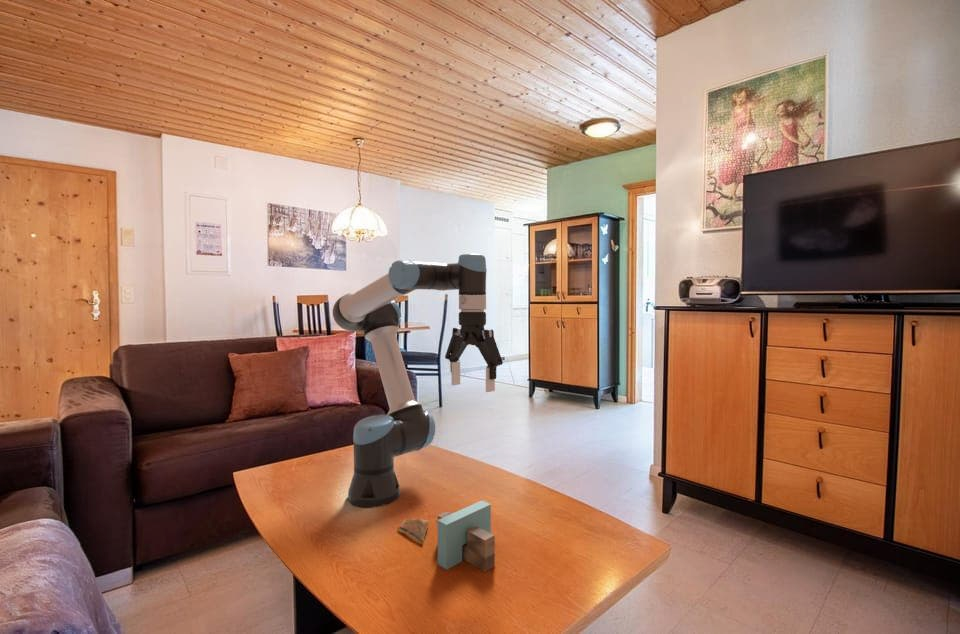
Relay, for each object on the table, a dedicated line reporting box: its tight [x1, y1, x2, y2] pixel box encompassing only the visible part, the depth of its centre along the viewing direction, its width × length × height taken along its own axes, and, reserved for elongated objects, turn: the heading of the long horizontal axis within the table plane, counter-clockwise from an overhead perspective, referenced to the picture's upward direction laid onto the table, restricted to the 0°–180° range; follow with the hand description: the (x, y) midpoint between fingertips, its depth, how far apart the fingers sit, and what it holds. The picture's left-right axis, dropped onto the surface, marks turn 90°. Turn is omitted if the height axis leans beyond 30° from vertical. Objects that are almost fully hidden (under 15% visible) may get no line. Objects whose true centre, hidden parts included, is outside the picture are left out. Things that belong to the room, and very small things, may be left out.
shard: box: [397, 518, 430, 546], centre depth 114 cm, size 11×8×2 cm
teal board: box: [437, 500, 492, 570], centre depth 104 cm, size 14×3×10 cm, turn 135°
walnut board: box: [437, 511, 496, 573], centre depth 104 cm, size 16×3×7 cm, turn 45°
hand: (472, 388), depth 124 cm, fingers open, 13 cm apart
